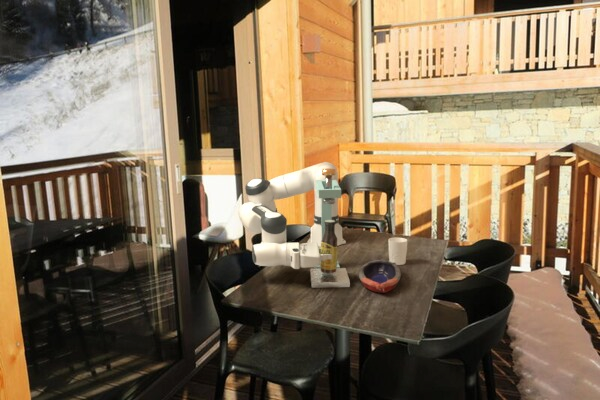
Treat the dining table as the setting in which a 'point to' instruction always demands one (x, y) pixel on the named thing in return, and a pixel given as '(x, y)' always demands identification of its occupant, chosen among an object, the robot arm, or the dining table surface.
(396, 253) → the white cup
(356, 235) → the dining table surface
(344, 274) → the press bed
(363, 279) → the dish
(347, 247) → the dining table surface
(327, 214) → the press frame
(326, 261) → the sauce bottle
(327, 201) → the ram
